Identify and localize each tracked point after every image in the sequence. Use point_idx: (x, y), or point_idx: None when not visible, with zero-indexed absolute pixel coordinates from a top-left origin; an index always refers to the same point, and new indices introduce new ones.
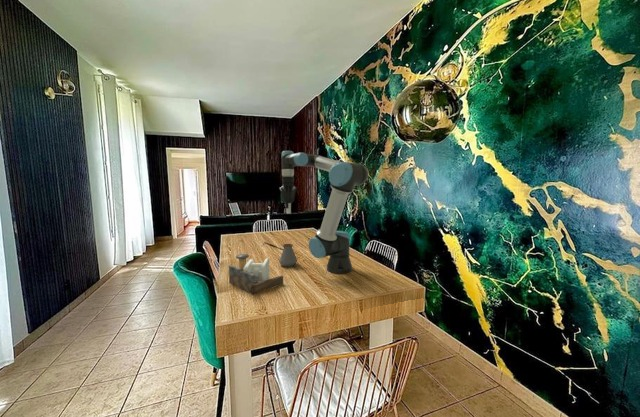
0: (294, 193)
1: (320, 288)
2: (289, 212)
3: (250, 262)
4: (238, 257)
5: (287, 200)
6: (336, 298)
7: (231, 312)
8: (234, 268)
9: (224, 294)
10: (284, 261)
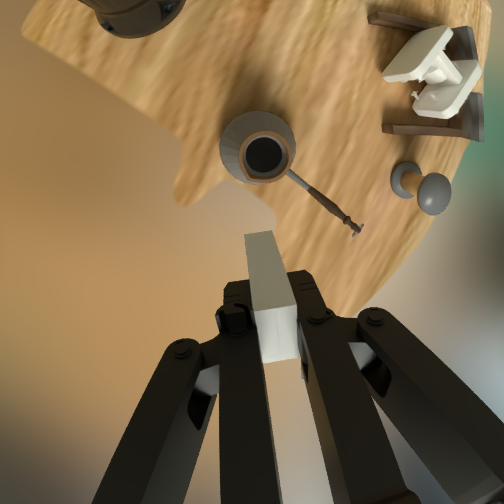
0: (123, 492)
1: None
2: (267, 236)
3: (467, 80)
4: (450, 185)
5: (341, 341)
6: None
7: (480, 16)
8: (482, 110)
9: (477, 83)
10: (289, 129)
